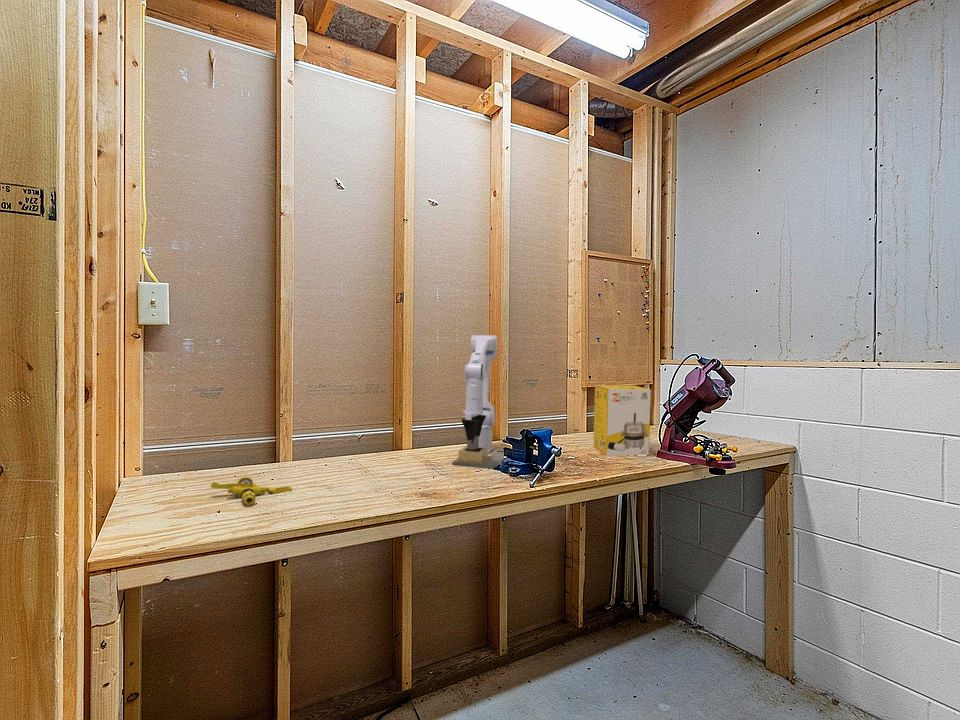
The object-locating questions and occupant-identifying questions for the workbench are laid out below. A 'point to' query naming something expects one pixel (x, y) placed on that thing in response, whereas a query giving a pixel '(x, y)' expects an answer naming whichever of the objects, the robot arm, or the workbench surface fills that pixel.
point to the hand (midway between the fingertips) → (473, 438)
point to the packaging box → (622, 420)
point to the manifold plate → (479, 458)
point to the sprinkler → (248, 489)
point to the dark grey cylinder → (473, 444)
